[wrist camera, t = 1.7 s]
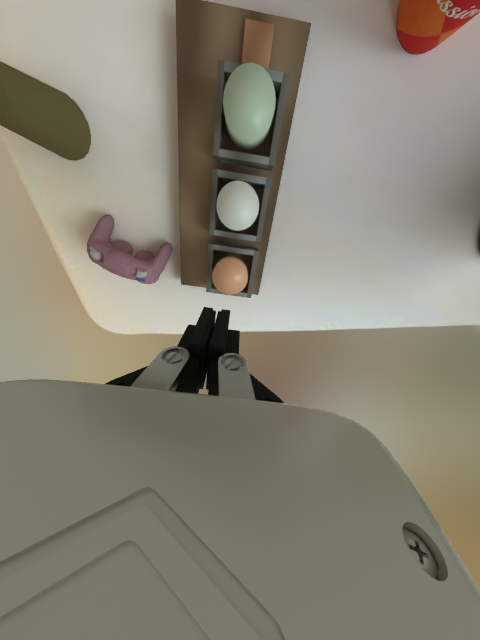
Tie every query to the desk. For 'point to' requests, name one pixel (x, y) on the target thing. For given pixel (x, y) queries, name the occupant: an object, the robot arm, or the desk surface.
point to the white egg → (237, 205)
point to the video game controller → (125, 255)
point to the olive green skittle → (42, 114)
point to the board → (212, 135)
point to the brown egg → (230, 275)
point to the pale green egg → (249, 105)
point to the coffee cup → (431, 21)
